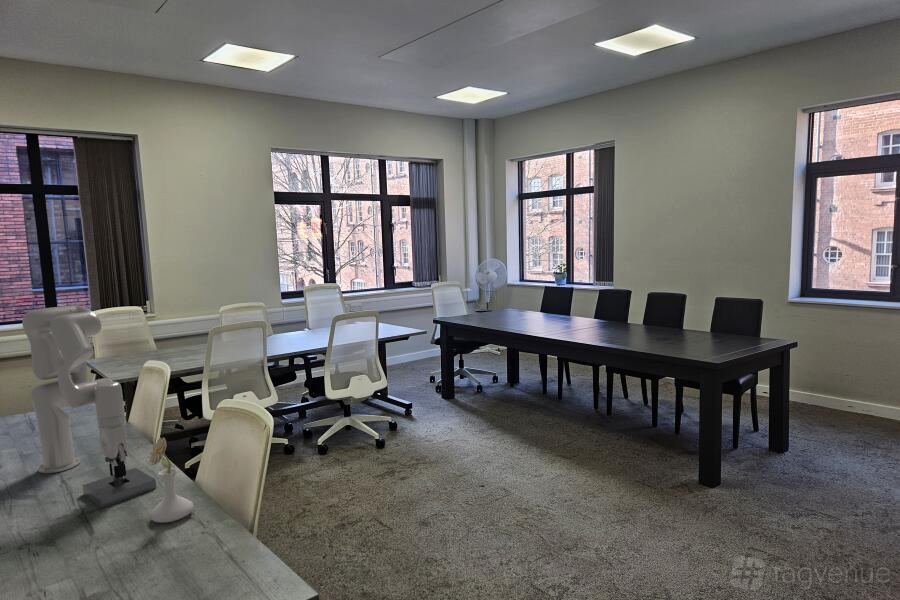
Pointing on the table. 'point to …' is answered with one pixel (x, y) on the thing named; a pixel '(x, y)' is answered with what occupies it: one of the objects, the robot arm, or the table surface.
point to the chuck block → (119, 488)
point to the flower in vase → (168, 489)
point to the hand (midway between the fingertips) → (118, 474)
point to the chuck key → (118, 480)
